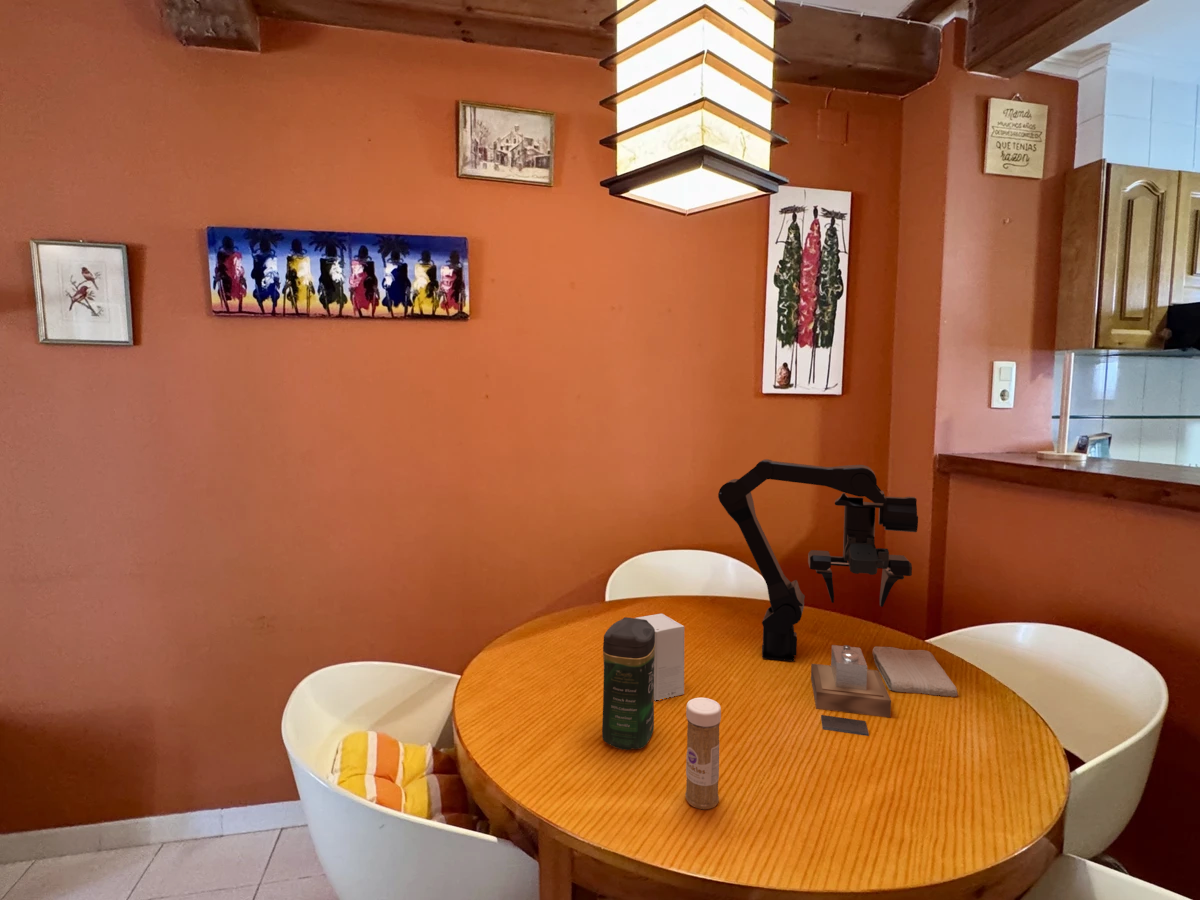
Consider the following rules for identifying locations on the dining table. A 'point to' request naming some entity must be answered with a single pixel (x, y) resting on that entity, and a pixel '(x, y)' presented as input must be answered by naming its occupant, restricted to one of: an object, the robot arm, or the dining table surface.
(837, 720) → the cover plate
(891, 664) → the washcloth
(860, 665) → the housing
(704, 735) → the sprinkles bottle
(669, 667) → the small box
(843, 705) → the tray
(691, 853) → the dining table surface
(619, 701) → the coffee jar
